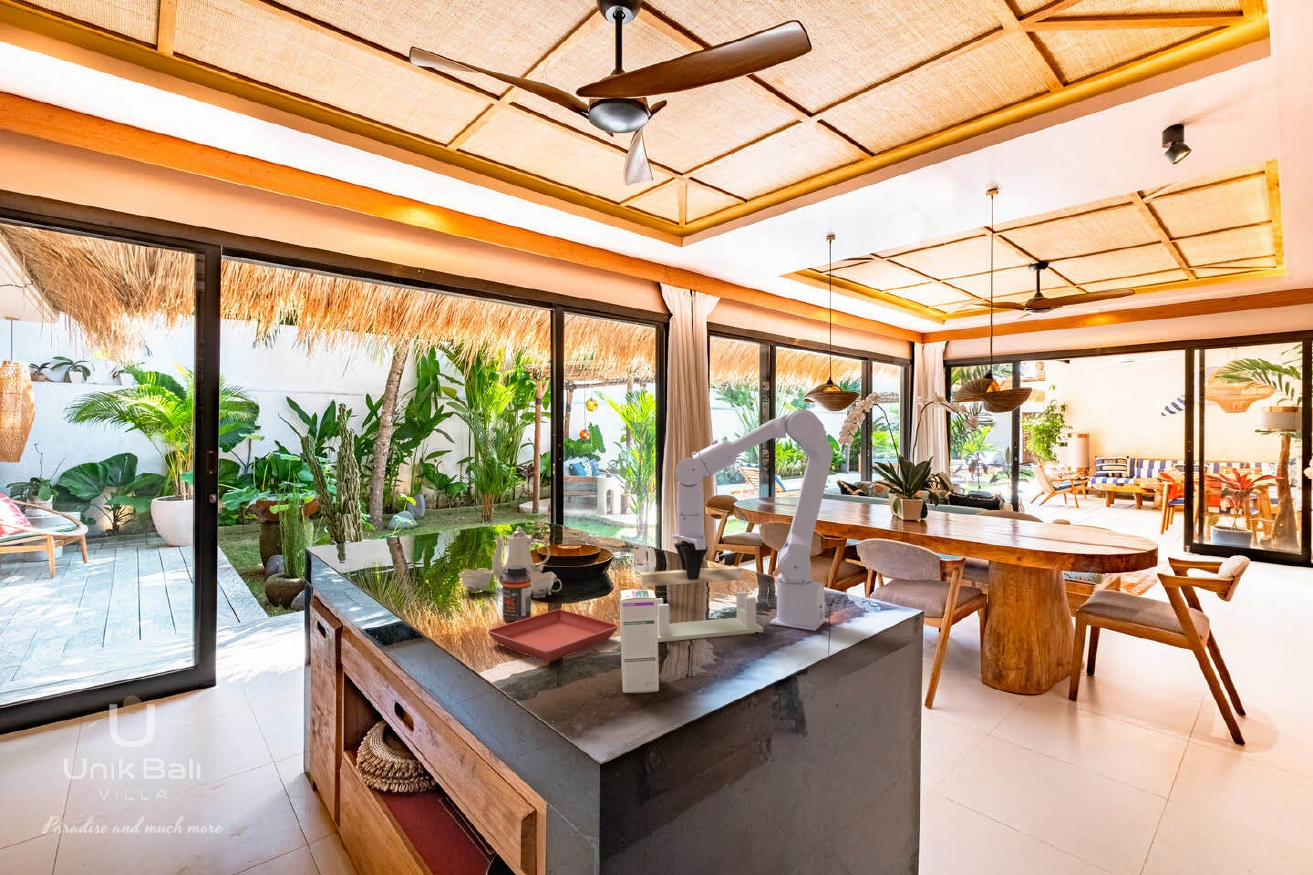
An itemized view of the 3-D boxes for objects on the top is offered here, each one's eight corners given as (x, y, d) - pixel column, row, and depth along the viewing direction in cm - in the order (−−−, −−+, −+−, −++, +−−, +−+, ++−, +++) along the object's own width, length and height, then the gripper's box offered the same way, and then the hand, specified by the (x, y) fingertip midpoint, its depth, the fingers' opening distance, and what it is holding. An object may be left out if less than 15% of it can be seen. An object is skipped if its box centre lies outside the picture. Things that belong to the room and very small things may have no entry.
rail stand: (747, 620, 129) (747, 589, 129) (763, 631, 121) (763, 599, 121) (646, 629, 124) (645, 597, 124) (655, 642, 116) (655, 608, 116)
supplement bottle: (497, 621, 131) (496, 568, 130) (513, 613, 136) (513, 562, 136) (520, 624, 128) (520, 570, 128) (536, 616, 134) (536, 564, 134)
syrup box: (659, 692, 93) (658, 597, 93) (621, 693, 93) (620, 598, 93) (656, 677, 99) (655, 587, 99) (620, 678, 99) (619, 588, 99)
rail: (737, 577, 135) (737, 566, 135) (741, 579, 132) (741, 568, 132) (639, 584, 129) (639, 572, 129) (642, 586, 127) (642, 575, 127)
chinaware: (448, 603, 151) (443, 537, 150) (478, 580, 168) (475, 521, 166) (556, 607, 146) (553, 540, 145) (577, 584, 163) (574, 522, 161)
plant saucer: (546, 669, 104) (546, 650, 104) (485, 646, 116) (485, 629, 116) (620, 642, 118) (620, 624, 118) (559, 624, 129) (559, 608, 129)
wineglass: (653, 600, 145) (653, 550, 145) (630, 599, 146) (629, 549, 146) (658, 594, 151) (658, 546, 151) (635, 593, 152) (635, 545, 152)
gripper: (663, 510, 137) (664, 571, 137) (682, 519, 123) (682, 586, 123) (693, 509, 139) (694, 569, 139) (715, 517, 124) (716, 584, 124)
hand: (690, 577), depth 131 cm, fingers closed on rail, 2 cm apart
